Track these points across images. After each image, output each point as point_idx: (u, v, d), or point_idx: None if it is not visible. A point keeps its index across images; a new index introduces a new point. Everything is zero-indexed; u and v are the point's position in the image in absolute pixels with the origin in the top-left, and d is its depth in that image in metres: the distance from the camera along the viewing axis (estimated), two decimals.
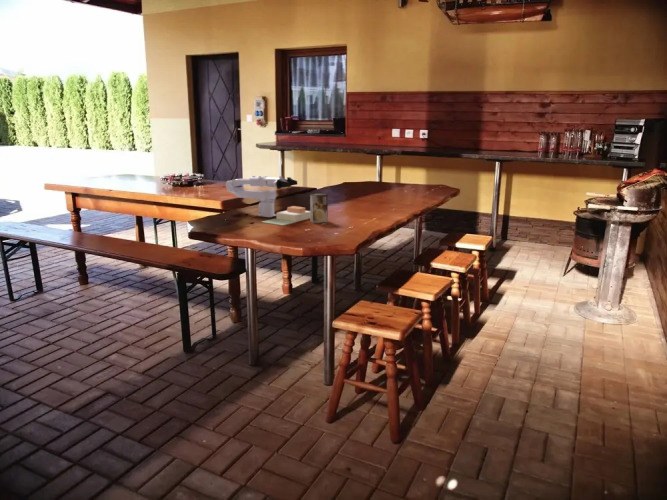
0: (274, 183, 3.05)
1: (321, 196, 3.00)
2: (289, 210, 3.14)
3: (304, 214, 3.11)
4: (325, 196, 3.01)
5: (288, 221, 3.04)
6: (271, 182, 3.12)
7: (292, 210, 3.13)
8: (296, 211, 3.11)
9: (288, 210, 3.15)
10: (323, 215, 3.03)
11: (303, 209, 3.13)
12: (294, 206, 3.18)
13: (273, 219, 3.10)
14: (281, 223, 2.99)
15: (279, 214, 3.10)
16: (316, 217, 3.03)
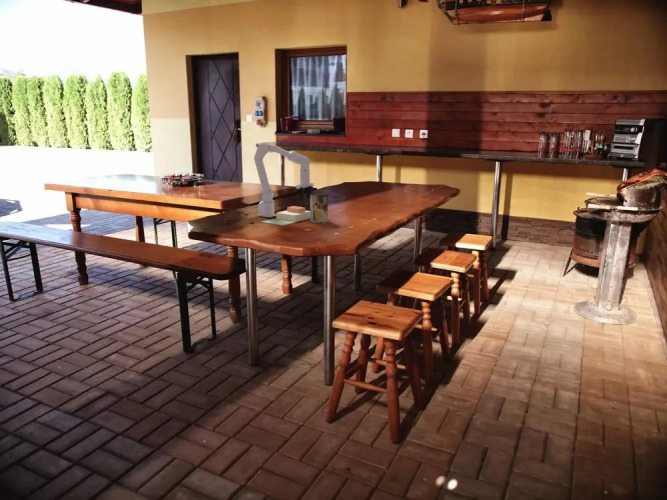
0: (298, 187, 3.12)
1: (321, 196, 3.00)
2: (289, 210, 3.14)
3: (304, 214, 3.11)
4: (325, 196, 3.01)
5: (288, 221, 3.04)
6: (305, 176, 3.14)
7: (292, 210, 3.13)
8: (296, 211, 3.11)
9: (288, 210, 3.15)
10: (323, 215, 3.03)
11: (303, 209, 3.13)
12: (294, 206, 3.18)
13: (273, 219, 3.10)
14: (281, 223, 2.99)
15: (279, 214, 3.10)
16: (316, 217, 3.03)
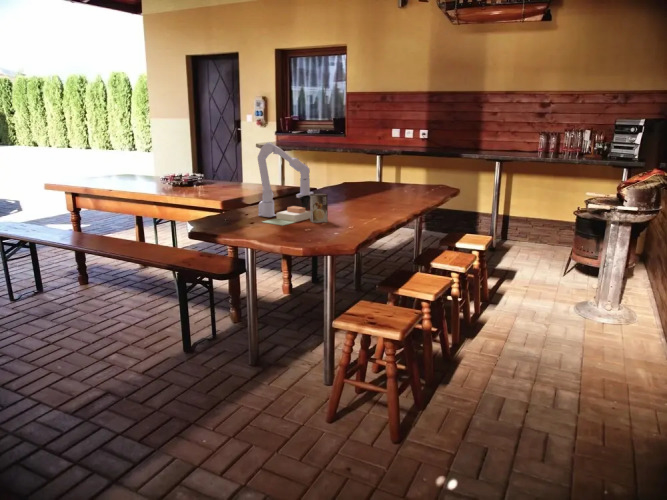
0: (298, 196, 3.14)
1: (321, 196, 3.00)
2: (289, 210, 3.14)
3: (304, 214, 3.11)
4: (325, 196, 3.01)
5: (288, 221, 3.04)
6: (305, 185, 3.16)
7: (292, 210, 3.13)
8: (296, 211, 3.11)
9: (288, 210, 3.15)
10: (323, 215, 3.03)
11: (303, 209, 3.13)
12: (294, 206, 3.18)
13: (273, 219, 3.10)
14: (281, 223, 2.99)
15: (279, 214, 3.10)
16: (316, 217, 3.03)
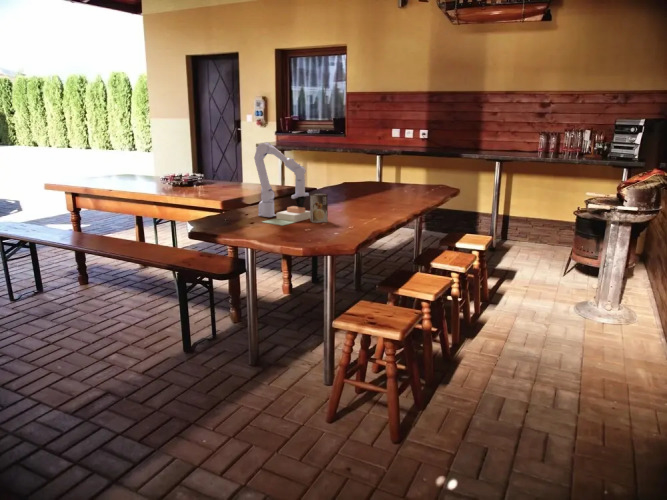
0: (293, 197, 3.10)
1: (321, 196, 3.00)
2: (289, 210, 3.14)
3: (304, 214, 3.11)
4: (325, 196, 3.01)
5: (288, 221, 3.04)
6: (299, 186, 3.12)
7: (292, 210, 3.13)
8: (296, 211, 3.11)
9: (287, 210, 3.15)
10: (323, 215, 3.03)
11: (303, 209, 3.13)
12: (294, 206, 3.18)
13: (273, 219, 3.10)
14: (281, 223, 2.99)
15: (279, 214, 3.10)
16: (316, 217, 3.03)
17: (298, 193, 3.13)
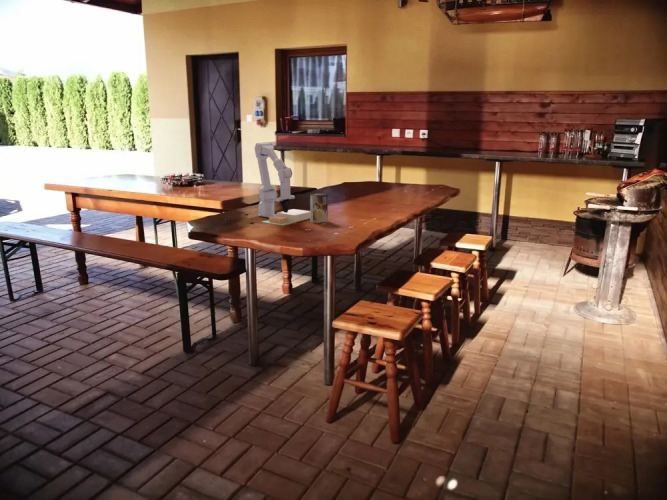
0: (278, 200, 2.99)
1: (321, 196, 3.00)
2: None
3: (304, 214, 3.11)
4: (325, 196, 3.01)
5: (288, 221, 3.04)
6: (281, 188, 3.02)
7: None
8: None
9: None
10: (323, 215, 3.03)
11: (282, 221, 2.99)
12: (271, 221, 3.03)
13: None
14: (281, 223, 2.99)
15: (279, 214, 3.10)
16: (316, 217, 3.03)
17: (283, 196, 3.02)
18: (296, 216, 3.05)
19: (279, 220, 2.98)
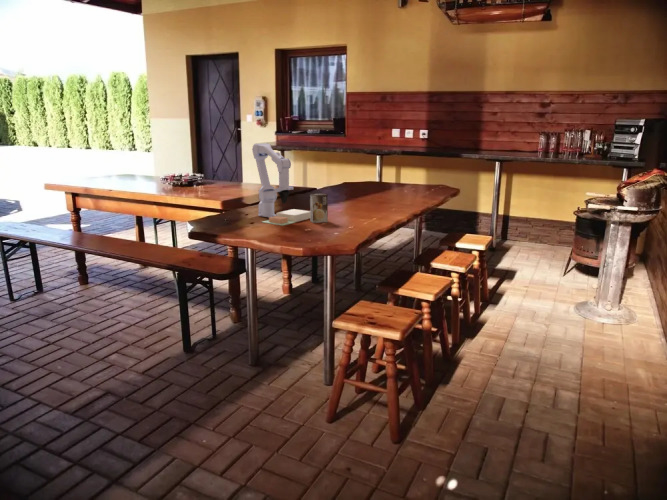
0: (276, 191, 2.98)
1: (321, 196, 3.00)
2: None
3: (304, 214, 3.11)
4: (325, 196, 3.01)
5: (288, 221, 3.04)
6: (280, 179, 3.01)
7: None
8: None
9: None
10: (323, 215, 3.03)
11: (282, 221, 2.99)
12: (271, 221, 3.03)
13: None
14: (281, 223, 2.99)
15: (279, 214, 3.10)
16: (316, 217, 3.03)
17: (282, 186, 3.01)
18: (296, 216, 3.05)
19: (279, 220, 2.98)
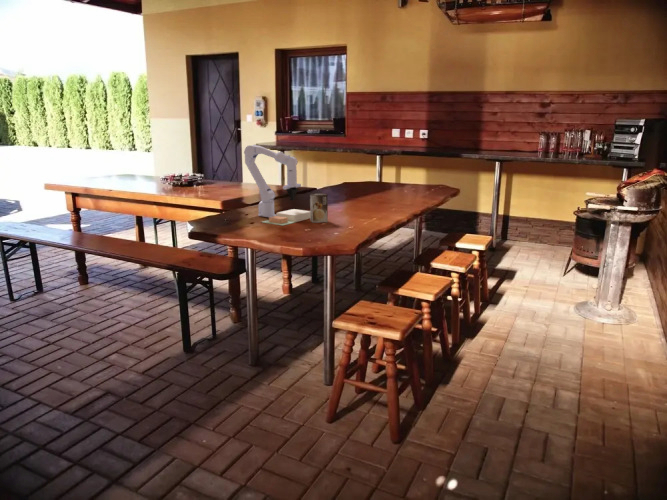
0: (284, 188, 3.09)
1: (321, 196, 3.00)
2: None
3: (304, 214, 3.11)
4: (325, 196, 3.01)
5: (288, 221, 3.04)
6: (290, 177, 3.11)
7: None
8: None
9: None
10: (323, 215, 3.03)
11: (282, 221, 2.99)
12: (271, 221, 3.03)
13: None
14: (281, 223, 2.99)
15: (279, 214, 3.10)
16: (316, 217, 3.03)
17: (290, 184, 3.12)
18: (296, 216, 3.05)
19: (279, 220, 2.98)
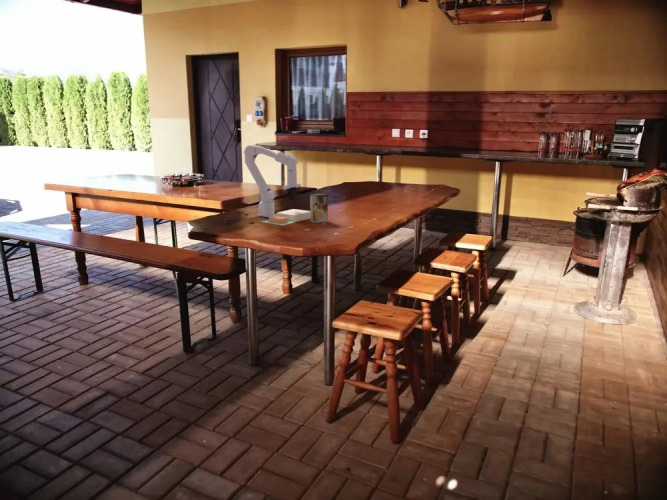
0: (284, 188, 3.09)
1: (321, 196, 3.00)
2: None
3: (304, 214, 3.11)
4: (325, 196, 3.01)
5: (288, 221, 3.04)
6: (290, 177, 3.11)
7: None
8: None
9: None
10: (323, 215, 3.03)
11: (282, 221, 2.99)
12: (271, 221, 3.03)
13: None
14: (281, 223, 2.99)
15: (279, 214, 3.10)
16: (316, 217, 3.03)
17: (290, 184, 3.12)
18: (296, 216, 3.05)
19: (279, 220, 2.98)
